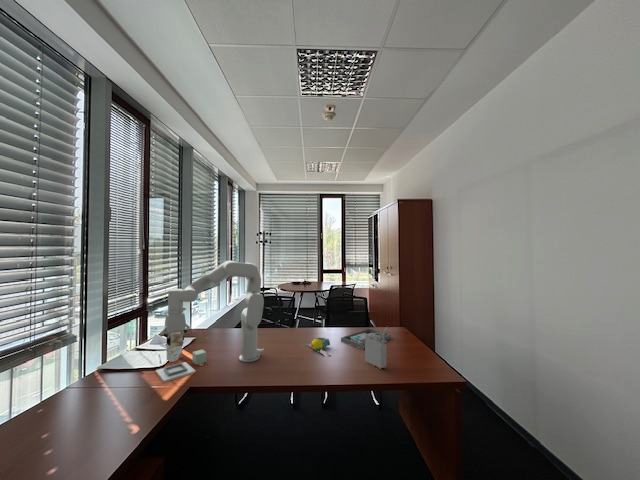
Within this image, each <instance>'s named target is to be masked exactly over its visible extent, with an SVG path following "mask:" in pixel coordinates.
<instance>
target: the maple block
mask: <svg viewBox="0 0 640 480" xmlns="http://www.w3.org/2000/svg"><path fill="white" fill-rule="evenodd" d="M183 345H184V340H183V334H181V332H180V331H179V332H174V333H171V335H170V347H171V348H174V347H178V346H182V347H183Z"/></svg>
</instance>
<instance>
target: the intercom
mask: <svg viewBox="0 0 640 480" xmlns="http://www.w3.org/2000/svg"><path fill="white" fill-rule="evenodd" d="M366 334H367V333H363V334H358V335H355V336H351V337H350V339H349V340H352V341H354V342H358V343H360V344H365V335H366ZM374 334H375V335H376V334H381V335H378V336H382V335H383V334H382V333H379V332H376V333H374Z"/></svg>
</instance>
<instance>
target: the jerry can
mask: <svg viewBox="0 0 640 480" xmlns="http://www.w3.org/2000/svg"><path fill="white" fill-rule="evenodd" d="M388 329H390V326H386V328H384V330H383V331H382V332H383V336H378V335H376V334H373V333H366V335H365V350H364V362H365V361H367V362H369V363H372V364H374V365H376V366H378V367H380V368H381V367H384V366H386V367H387V344H386V343H387V341H388V340H384V335H385V333H387V330H388Z"/></svg>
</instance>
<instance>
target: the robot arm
mask: <svg viewBox="0 0 640 480" xmlns="http://www.w3.org/2000/svg"><path fill="white" fill-rule="evenodd" d="M230 276H231V277H236V278H237V277H238V278H246V281H247V283H246V291H245V295H244V296H245V297H244V302H245V303H246V304H247V307H245V308H243V310H242V312H241V315H240V323H241V354H240V355H239V357H238V359H239V361H240V362H243V363H252V362H255V361H257V360H259V359H260V357H261V356H260V355H261V353H264V352H265V348H258V326H259V324H260V323H261V322H262V317H263V312H264V305H265V304H264V303H265V299H264V296H263V295H262V293H261V285H262V277H261V274H260V272H259V269H258V266H257V265H256V264H254V263H251V262H238V261H234V260H226V261H224V262H223V263H221V264H220V265H218V266H217V267H216V268H214V269H213V270H211V271H210V272H208V273H206V274H204V275H203V276H201V277H200V278H198V279H197V280H194V281H193V282H192V283H191V284H189V285H187V286H186V287H185V288H184V289H182V288H171V289H169V290H168V294H167V295H168V296H167V299H168V300H167V314H166V315H165V319H164V320H165V321H164V326H163V328H162V329H161V331H160V332H159V333H160V334H161V335H162V336H164V337H165V338H166V343H167V344H168V345H169V346H170V335H171V334H172V333H177V332H180V333H181V334H183V341H185V335H186V333H188V331H189V329H190V328H191V326H190V325H188V324H187V323H186V322H187V321H186V316H185V311H186V310H187V309H186V308H187V307H184V303H192V302H195V301H197V299H198V298H199V294H201V293H202V292H203V291H204V290H206V289H209V288H211V287H215V286H217V285H219V284H220V283H222V282H223V281H224V280H226V279H227V278H229V277H230ZM165 332H166V333H165Z"/></svg>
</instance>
